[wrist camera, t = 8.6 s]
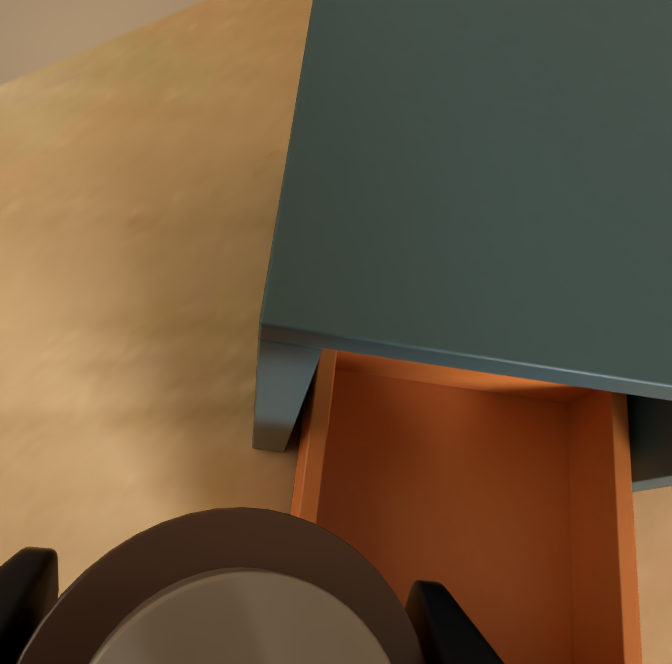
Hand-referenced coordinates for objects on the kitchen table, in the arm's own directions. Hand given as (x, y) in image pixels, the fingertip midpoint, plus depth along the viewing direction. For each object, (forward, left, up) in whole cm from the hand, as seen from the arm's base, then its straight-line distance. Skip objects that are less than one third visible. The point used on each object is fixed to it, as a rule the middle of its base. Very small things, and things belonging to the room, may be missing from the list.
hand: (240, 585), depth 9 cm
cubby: (+6, -11, -13) cm, 18 cm away
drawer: (-2, -6, -13) cm, 15 cm away
